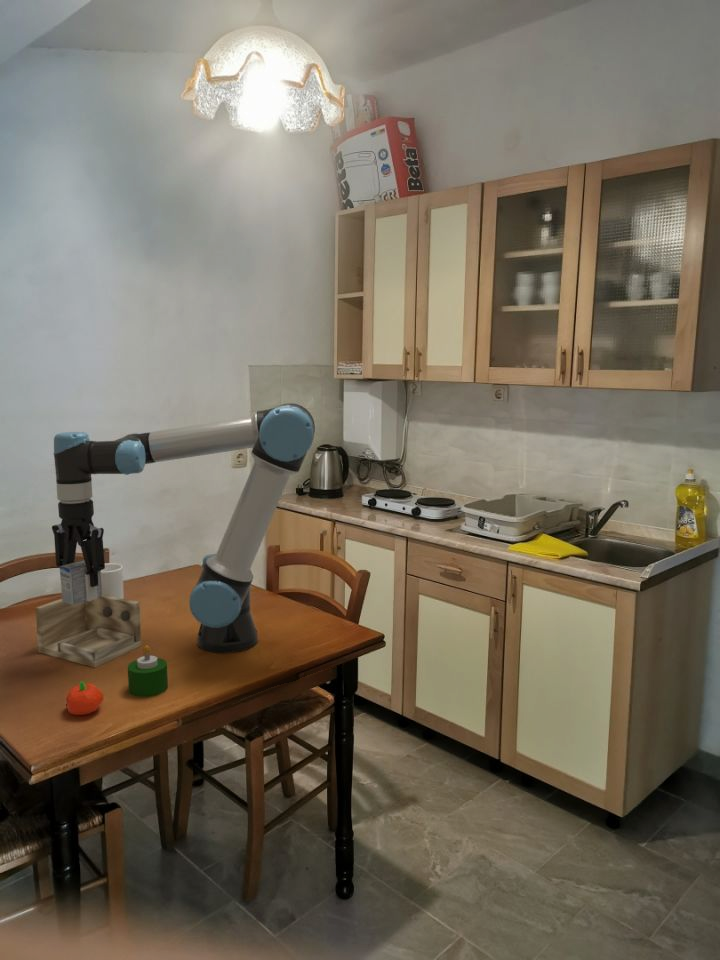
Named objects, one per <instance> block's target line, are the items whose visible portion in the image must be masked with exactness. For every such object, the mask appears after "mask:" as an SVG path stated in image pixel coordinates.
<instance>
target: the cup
mask: <svg viewBox="0 0 720 960" xmlns="http://www.w3.org/2000/svg"><path fill="white" fill-rule="evenodd" d="M123 571H124V570H123V565H122V564H120V563H114V562H113V563H112V562H111V563H110V562H107V563H105V569H103V570H101V585H102V595H107V596H112V597H117V598H122V599H125V598H124V597H125V596H124V575H123Z"/></svg>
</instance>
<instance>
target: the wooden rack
mask: <svg viewBox="0 0 720 960" xmlns="http://www.w3.org/2000/svg"><path fill="white" fill-rule="evenodd" d="M140 611H141V609H140V601H136V600H131V599H126V598H124V599H122V598H117V597H112V596H107V595H102V596H100V597H98V598H97V599H94V600H92V601H84V602H81V603H78V604H75V605H70V604H67V603H65V602H63V601H62V598H60V599H56V600H53V601H50V602H48V603H47V602H46V603H44V604H42V605H39V606H36V607H35V617H36V618H35V619H36V631H37V633H36V634H37V649H38V651H37V652H38V653H40V654H43V655H46V656H51V657H53V658H58V659H62V660H64V661H65V660H66V661H70V662H73V663H77V664H81V665H84V666H89V667H90V668H91V667H92V668H98V667H100V666H102V665H103V664H106V663H108V662H110V661H112V660H114V659H117V658H119V657H121V656H123V655H125V654H127V653H130V652H131V651H134V650H135V649H137V648H139V647H141V646H142V639H141V638H142V637H141V635H142V634H141V613H140Z"/></svg>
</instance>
